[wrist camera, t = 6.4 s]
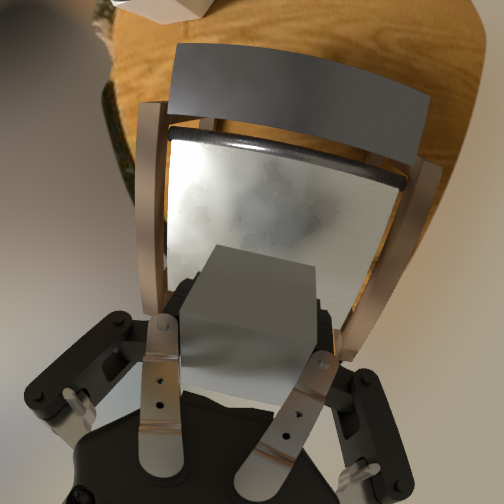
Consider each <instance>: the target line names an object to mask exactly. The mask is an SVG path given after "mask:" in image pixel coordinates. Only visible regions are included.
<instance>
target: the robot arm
mask: <svg viewBox="0 0 504 504" xmlns="http://www.w3.org/2000/svg"><path fill="white" fill-rule="evenodd" d="M199 274H200V271H198V272H197V274H196V276H195V277H194V279H189V278H186V279H184V280H183V281H181V282H180V283H179V285H178V286H177V288H176V290H175V291H174V293H173V295H172V296H171V298H170V299H169V301H168V302H167V304H166V306H165V307H164V309H163V311H162V312H161V314H156V315H154V316H153V317H152V318H151V319H150V320H148V321H139V320H132V317H131V315H129V313H127V312H125V311H114V312H111V313H110V314H108V315H107V316H106V317H105V318H103V319H102V320H101V321H100V322H99V323H98V324H96V325H95V326H94V327H93V328H92V329H91V330H89V331H88V332H87V333H86V334H85V335H84V336H82V337H81V338H80V339H79V340H78V341H77V342H76V343H74V344H73V345H72V346H71V347H70V348H69V349H68V350H66V351H65V352H64V353H63V354H62V355H61V356H60V357H59V358H58V359H57V360H55V361H54V362H53V363H52V364H51V365H50V366H49V367H48V368H47V369H45V370H44V371H43V372H42V373H41V374H40V375H39V376H38V377H37V378H35V379H34V380H33V381H32V382H31V383H30V384H29V385H28V386H27V387H26V389H25V392H24V400H25V403H26V404H27V406H28V407H29V408H30V409H31V410H32V411H33V412H34V414H35V415H36V416H37V417H38V418H39V419H40V420H41V421H42V422H43V423H44V424H45V425H46V426H47V427H48V428H50V429H51V430H52V431H53V432H54V433H55V434H57V435H59V436H60V437H61V438H62V439H63V440H64V441H65V442H66V443H67V444H68V445H69V446H70V447H72V448H73V449H74V452H73V462H74V483H73V487H72V489H71V491H70V493H69V495H68V496H67V497H66V499H65V500H64V502H63V503H62V504H393V503H396V502H399V501H402V500H405V499H406V498H408V497H409V496H410V495H411V494H412V492H413V490H414V486H415V483H414V478H413V475H412V472H411V468H410V465H409V462H408V459H407V455H406V453H405V449H404V446H403V443H402V440H401V437H400V434H399V431H398V428H397V426H396V423H395V420H394V417H393V415H392V412H391V409H390V406H389V403H388V401H387V398H386V396H385V393H384V390H383V388H382V385H381V383H380V380H379V378H378V376H377V375H376V374H375V373H374V372H373V371H372V370H369V369H366V368H362V369H359V370H357V371H356V372H353V371H351V370H348V369H346V368H344V367H342V366H341V365H340V364H339V361H338V359H337V358H336V356H335V355H334V348H333V333H332V318H331V316H330V314H329V312H328V311H327V310H323V309H321V304H320V299H317V344H316V346H315V348H314V350H313V352H312V354H311V356H310V358H309V360H308V362H307V364H306V366H305V367H304V369H303V371H302V373H301V375H300V377H299V379H298V381H297V383H296V384H295V386H294V387H293V389H292V391H291V392H290V394H289V396H288V397H287V399H286V401H285V402H284V404H283V406H282V407H281V409H280V410H279V412H278V414H277V415H276V417H275V418H273V415H274V412H271V411H265V410H260V409H255V408H227V407H224V406H222V405H220V404H219V403H217V402H215V401H213V400H211V399H209V398H207V397H205V396H201V395H198V394H194V393H191V392H188V391H183V393H182V396H181V390H180V365H179V357H180V354H181V348H180V311H179V310H180V309H181V307H182V305H183V303H184V301H185V299H186V298H187V296H188V294H189V292H190V290H191V289H192V287H193V285H194V283H195V281H196V280H197V278H198V276H199ZM137 362H143V365H142V382H141V406H140V409H138V410H136V411H134V412H132V413H130V414H128V415H126V416H124V417H121V418H119V419H117V420H115V421H113V422H111V423H109V424H107V425H105V426H102V427H100V428H98V429H96V430H93V431H91V426H92V424H93V422H94V421H95V419H96V409H95V407H96V406H97V404H98V403H99V402H100V401H101V400H102V399H103V398H104V397H105V396H106V395H107V394H108V393H109V392H110V391H111V389H112V388H113V387H114V386H115V385H116V384H117V383H118V382H119V381H120V380H121V379H122V378H123V377H124V376H125V375H126V373H127V372H128V371H129V370H130V369H131V368H132V367H133V366H134V365H135V364H136V363H137ZM324 405H326V406H328V407H330V408H331V410H332V414H333V418H334V421H335V426H336V430H337V434H338V438H339V442H340V446H341V451H342V454H343V459H344V463H345V468H346V469H344V470H343V471H342V472H341V474H340V475H339V479H338V489H337V491H336V492H334V491H333V490H332V488H331V487H330V485H329V484H328V483H327V482H326V480H325V478H324V477H323V476H322V474H321V473H320V471H319V470H318V469H317V467H316V466H315V464H314V463H313V461H312V460H311V459H310V457H309V456H308V454H307V453H306V451H305V450H304V448H303V445H304V444H305V442H306V440H307V438H308V436H309V434H310V432H311V430H312V428H313V426H314V424H315V422H316V420H317V418H318V416H319V414H320V412H321V410H322V408H323V406H324Z"/></svg>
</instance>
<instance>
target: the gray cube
mask: <svg viewBox="0 0 504 504" xmlns="http://www.w3.org/2000/svg"><path fill="white" fill-rule="evenodd" d="M179 311H180V348H181V368H182V382H184V383H187V384H190V385H194V386H197V387H201V388H204V389H208V390H211V391H215V392H219V393H223V394H227V395H231V396H235V397H240V398H244V399H249V400H253V401H258V402H263V403H268V404H274V405H280V406H283V404H284V402H285V401H286V399H287V397H288V396H289V394H290V392H291V391H292V389H293V387H294V386H295V384H296V382H297V381H298V379H299V377H300V375H301V373H302V371H303V369H304V367H305V366H306V364H307V362H308V360H309V358H310V356H311V354H312V352H313V350H314V348H315V346H316V344H317V298H316V271H315V266H310V265H306V264H302V263H297V262H293V261H288V260H284V259H280V258H275V257H271V256H266V255H262V254H257V253H253V252H249V251H244V250H240V249H235V248H231V247H226V246H222V245H218V244H216V246H215V248H214V250H213V251H212V253H211V255H210V257H209V258H208V260H207V262H206V264H205V265H204V267H203V269H202V271H201V272H200V274H199V276H198V278H197V280H196V281H195V283H194V285H193V287H192V289H191V290H190V292H189V294H188V296H187V298H186V299H185V301H184V303H183V305H182V307H181V309H180V310H179Z"/></svg>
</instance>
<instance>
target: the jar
mask: <svg viewBox="0 0 504 504" xmlns="http://www.w3.org/2000/svg"><path fill="white" fill-rule="evenodd" d="M214 1H215V0H111V2H112V3H113V5H114V6H116V7H118V8H121V9H124V10H127V11H130V12H132V13H135V14H137V15H140V16H142V17H145V18H147V19H150V20H152V21H154V22H157V23H159V24H161V25H166V24H171V23H176V22H182V21H188V20H195V19H201V18H202V17H203V16H204V14H205V13H206V12H207V10H208V9H209V7H210V6H211V5H212V3H213V2H214Z"/></svg>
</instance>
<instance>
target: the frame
mask: <svg viewBox="0 0 504 504" xmlns="http://www.w3.org/2000/svg"><path fill="white" fill-rule="evenodd" d="M168 103H169V101H157V102H141V103H139V111H138V123H137V139H136V162H135V213H136V214H135V215H136V239H137V256H138V267H139V280H140V289H141V298H142V307H143V313H144V314H146V315H149V316H154V315H156V314H161V312H162V311H163V309H164V307H165V306H166V304H167V302H168V301H169V299H170V298H171V296H172V295H173V293H174V292H173V291H170V290H168V271H167V267H166V268H165V270H164V264H163V263H164V262H163V218H164V186H165V167H166V152H167V140H168V129H169V125H170V124H175V123H180V122H185V121H191V120H196V119H200V123H199V129H205V130H213V131H216V128H217V121H218V118H210V117H201V116H190V115H179V114H167V111H168ZM384 159H385V160H386V161H388V162H389V163H390V164H392V165H393V166H395V167H396V168H397V169H399V170H400V171H401V172H403V173H404V174H405V175H407V176H408V180H407V183H406V186H405V189H404V192H403V195H402V198H401V201H400V204H399V207H398V209H397V212H396V215H395V218H394V220H393V223H392V226H391V228H390V231H389V234H388V236H387V239H386V241H385V244H384V246H383V248H382V251H381V253H380V256H379V258H378V260H377V263H376V265H375V267H374V270H373V272H372V274H371V276H370V279H369V281H368V283H367V285H366V287H365V289H364V292H363V294H362V296H361V298H360V300H359V302H358V304H357V306H356V308H355V310H354V312H353V311H352V307H351V309H350V311H349V313H348V315H347V317H346V319H345V321H344V323H343V325H342V327H341V329H340V330H339V329H334V338H335V354H336V358H337V359H338V360H342V361H349V362H352V361H353V359H354V358H355V356H356V354H357V353H358V351H359V350H360V348H361V347H362V345H363V343H364V342H365V340H366V339H367V337H368V335H369V334H370V332H371V330H372V329H373V327H374V325H375V324H376V321H377V320H378V318H379V316H380V315H381V313H382V311H383V309H384V308H385V306H386V304H387V302H388V300H389V298H390V297H391V295H392V293H393V291H394V289H395V287H396V285H397V283H398V281H399V279H400V277H401V275H402V273H403V271H404V269H405V267H406V265H407V263H408V260H409V258H410V256H411V254H412V252H413V249H414V247H415V245H416V243H417V240H418V238H419V236H420V233H421V231H422V228H423V226H424V223H425V221H426V218H427V216H428V213H429V210H430V208H431V205H432V202H433V200H434V197H435V194H436V191H437V188H438V185H439V182H440V179H441V176H442V173H443V170H444V168H443V167H441V166H439V165H437V164H435V163H433V162H432V161H430V160H428V159H426V158H424V157H422V156H420V155H418V154H417V156H416V159H415V163H414V166H410V165H407V164H405V163H402V162H399V161H396V160H394V159H391V158H388V157H385V156H382V155H379V154H376V153H373V152H370V151H368V153H367V157H366V161H365V163H366V164H369V165H372V166H375V167H378V168H382V165H383V161H384Z"/></svg>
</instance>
